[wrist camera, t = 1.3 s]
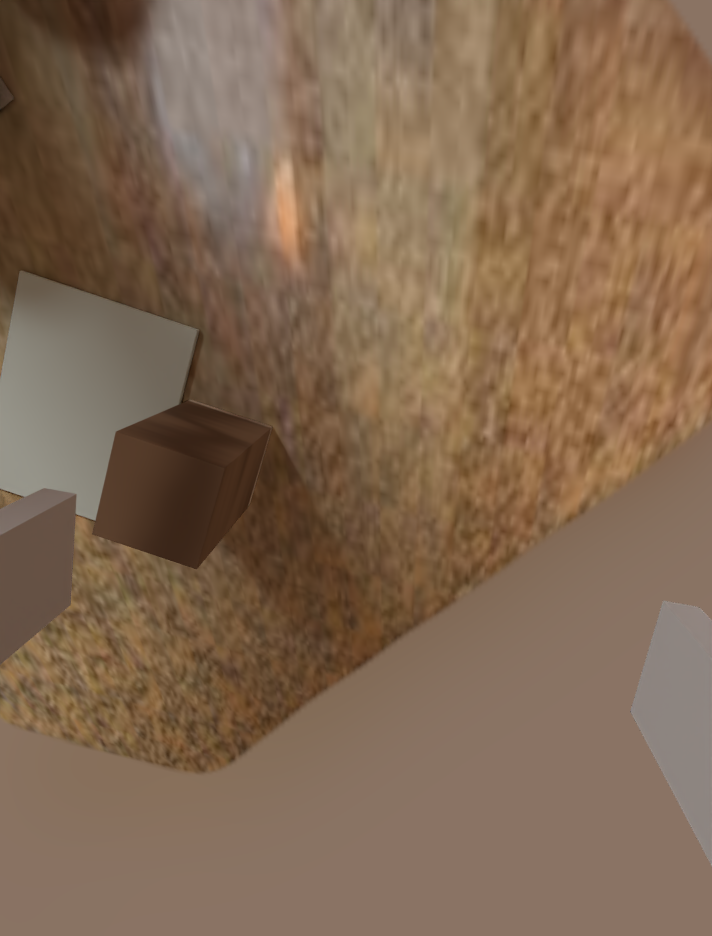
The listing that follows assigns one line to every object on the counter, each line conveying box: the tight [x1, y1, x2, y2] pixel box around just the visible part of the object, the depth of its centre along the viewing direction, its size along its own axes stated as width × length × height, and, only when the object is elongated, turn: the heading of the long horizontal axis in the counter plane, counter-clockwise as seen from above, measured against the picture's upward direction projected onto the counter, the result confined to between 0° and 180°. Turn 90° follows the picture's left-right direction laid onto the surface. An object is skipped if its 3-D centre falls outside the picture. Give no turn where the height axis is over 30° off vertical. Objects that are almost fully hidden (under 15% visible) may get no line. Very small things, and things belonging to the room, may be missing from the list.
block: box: [92, 399, 272, 569], centre depth 34 cm, size 5×5×10 cm
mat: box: [0, 271, 199, 520], centre depth 39 cm, size 10×13×1 cm
